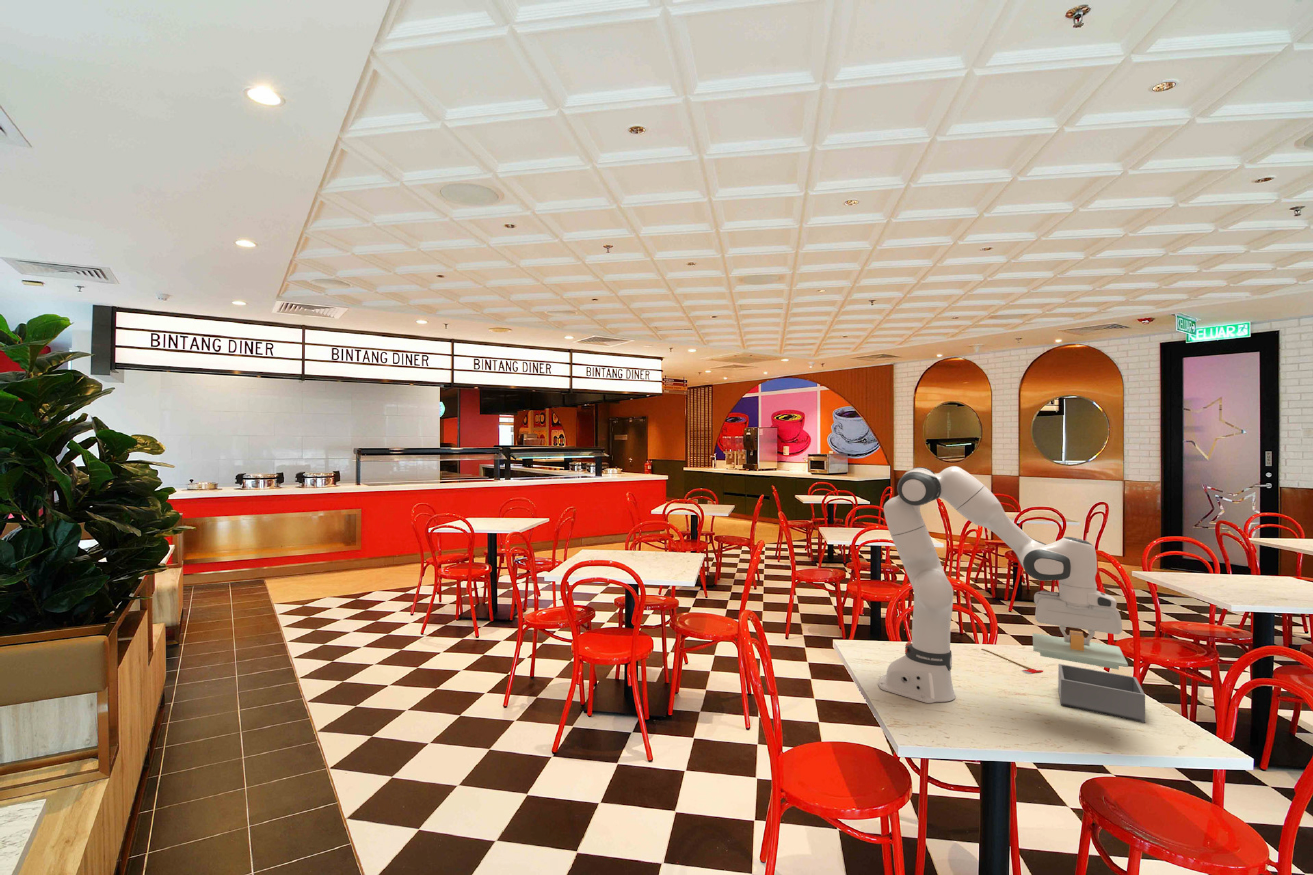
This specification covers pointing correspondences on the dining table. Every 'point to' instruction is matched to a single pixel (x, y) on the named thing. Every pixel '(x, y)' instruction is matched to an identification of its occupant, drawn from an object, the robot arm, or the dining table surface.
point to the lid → (1079, 650)
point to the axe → (1029, 671)
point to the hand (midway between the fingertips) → (1076, 643)
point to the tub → (1101, 692)
